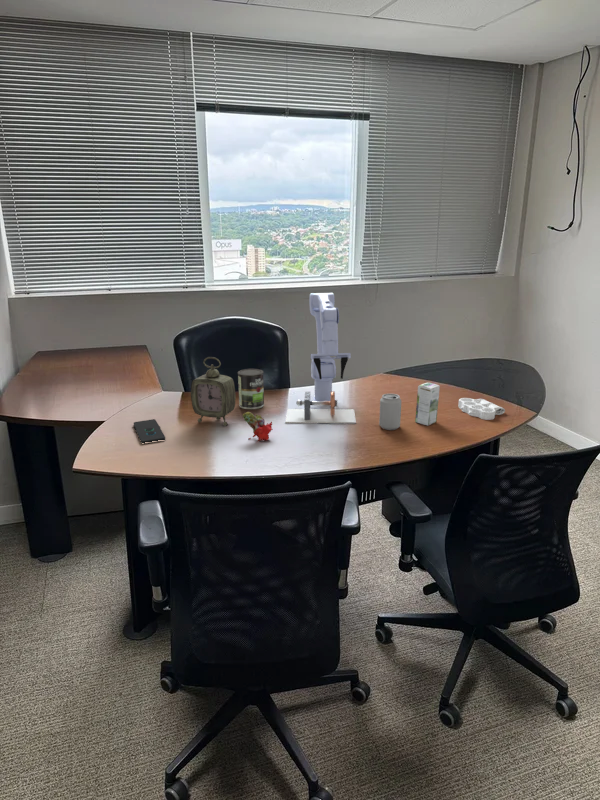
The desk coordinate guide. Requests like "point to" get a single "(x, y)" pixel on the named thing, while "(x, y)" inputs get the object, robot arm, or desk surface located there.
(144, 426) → the black flat block
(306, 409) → the square hole plate
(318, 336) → the robot arm
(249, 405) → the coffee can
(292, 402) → the desk surface
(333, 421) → the base board
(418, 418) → the syrup box
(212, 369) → the tabletop clock
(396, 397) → the can
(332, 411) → the bolt with copper washer
